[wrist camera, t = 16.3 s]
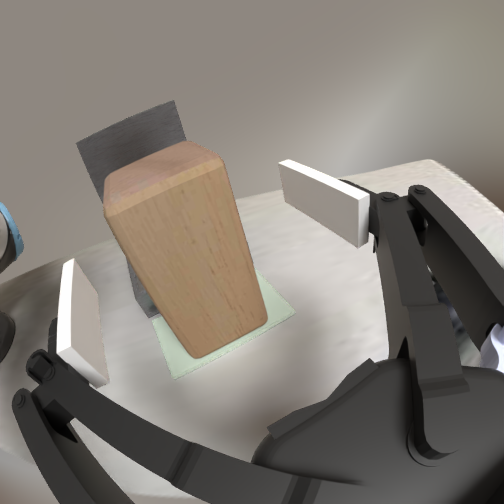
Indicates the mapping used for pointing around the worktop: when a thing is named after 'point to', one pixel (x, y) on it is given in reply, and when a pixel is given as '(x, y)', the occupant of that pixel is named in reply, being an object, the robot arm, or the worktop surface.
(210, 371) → the worktop surface
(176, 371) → the mat
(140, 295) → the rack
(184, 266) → the wooden block
